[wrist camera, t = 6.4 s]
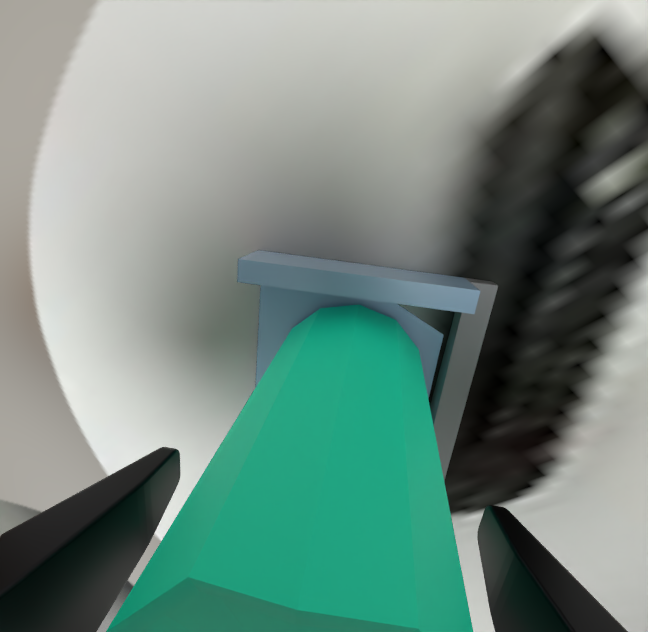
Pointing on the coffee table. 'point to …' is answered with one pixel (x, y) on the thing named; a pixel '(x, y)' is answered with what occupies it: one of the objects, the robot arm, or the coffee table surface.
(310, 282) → the grey framed panel
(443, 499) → the candle
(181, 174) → the coffee table surface
